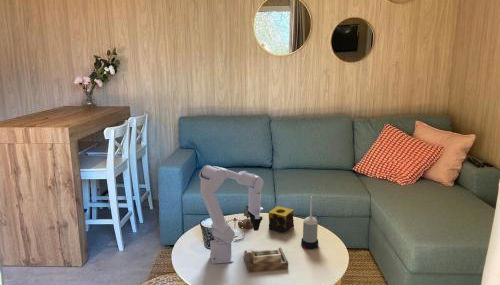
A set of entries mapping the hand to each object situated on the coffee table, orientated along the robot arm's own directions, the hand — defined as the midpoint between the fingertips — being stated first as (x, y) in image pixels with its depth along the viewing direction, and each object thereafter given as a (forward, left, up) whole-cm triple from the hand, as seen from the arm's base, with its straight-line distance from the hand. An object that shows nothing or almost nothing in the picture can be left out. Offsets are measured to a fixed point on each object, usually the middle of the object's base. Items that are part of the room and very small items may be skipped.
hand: (254, 226), depth 180 cm
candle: (+17, +15, -10) cm, 25 cm away
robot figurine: (0, +22, -10) cm, 24 cm away
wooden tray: (+2, -17, -9) cm, 19 cm away
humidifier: (+26, -5, -10) cm, 28 cm away
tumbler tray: (+2, -18, -8) cm, 20 cm away
